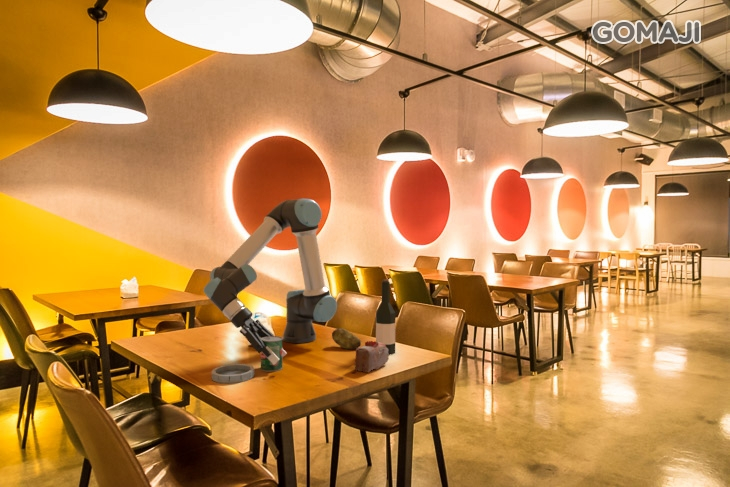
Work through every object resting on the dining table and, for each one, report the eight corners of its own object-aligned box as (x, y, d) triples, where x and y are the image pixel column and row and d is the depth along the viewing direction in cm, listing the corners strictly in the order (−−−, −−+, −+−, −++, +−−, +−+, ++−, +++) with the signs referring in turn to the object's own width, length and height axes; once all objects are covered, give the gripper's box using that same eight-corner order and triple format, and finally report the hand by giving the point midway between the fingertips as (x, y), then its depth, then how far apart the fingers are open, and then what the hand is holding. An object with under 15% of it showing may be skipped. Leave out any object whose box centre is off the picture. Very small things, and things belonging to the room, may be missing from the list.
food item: (371, 361, 178) (372, 336, 178) (390, 364, 174) (390, 338, 174) (352, 370, 166) (352, 343, 166) (371, 374, 162) (372, 346, 162)
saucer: (251, 368, 168) (251, 362, 168) (256, 380, 155) (256, 373, 155) (210, 373, 163) (210, 366, 163) (213, 385, 150) (212, 378, 150)
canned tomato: (287, 367, 170) (287, 337, 170) (272, 373, 163) (271, 342, 163) (271, 364, 174) (271, 335, 174) (255, 369, 167) (255, 339, 167)
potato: (348, 352, 192) (348, 333, 191) (328, 346, 201) (328, 328, 201) (363, 348, 197) (363, 330, 197) (343, 343, 207) (343, 325, 206)
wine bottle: (397, 350, 194) (398, 279, 193) (392, 355, 186) (392, 281, 186) (378, 349, 197) (379, 278, 196) (372, 353, 189) (372, 280, 188)
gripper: (242, 315, 180) (282, 358, 179) (218, 326, 160) (263, 374, 158) (255, 302, 180) (295, 345, 178) (233, 311, 159) (278, 359, 157)
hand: (280, 358), depth 168 cm, fingers closed on canned tomato, 8 cm apart
